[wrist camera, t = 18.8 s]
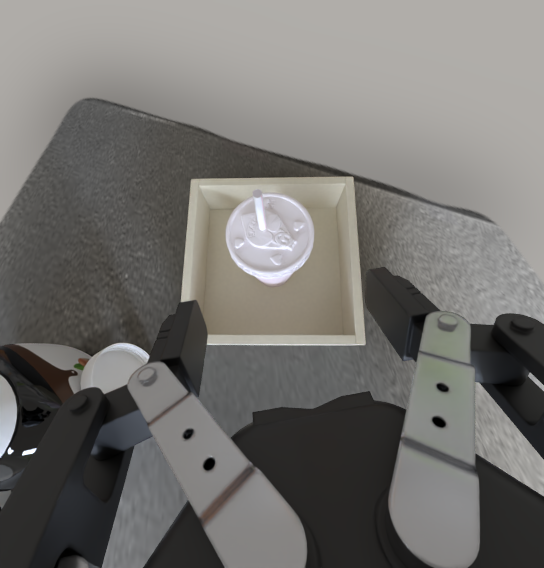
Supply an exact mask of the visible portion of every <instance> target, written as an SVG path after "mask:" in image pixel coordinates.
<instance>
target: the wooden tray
mask: <svg viewBox="0 0 544 568" xmlns="http://www.w3.org/2000/svg"><path fill="white" fill-rule="evenodd" d="M255 189H260V190H261V191H262V193H268V192H273V193H281V194H285V195H287V196H290V197H292V198H294V199H295V200H297V201H298V202H300V203H301V204H302V205H303V206H304V207H305V208H306V210H307V211H308V213H309V214H310V216H311V219H312V221H313V225H314V242H313V248H312V251H311V253H310V255H309V258H308V259H307V260H306V261H305V263H304V264H303V265H302V266H301V267H300V268H299V269H297V270H296V271H295V272H293V274H292V275H291V277H290V278H289V279H288V281H287V282H286V283H285V284H283V285H282V286H279V287H268V286H266V285H264V284H263V283H261V282H260V281H259V280H258V279H257V278H256V277H255V276H253V275H251V274H248V273H246V272H245V271H244V270H242V269H241V268H240V267H239V266H238V265H237V264H236V263H235V261H234V260H233V259H232V257H231V255H230V252H229V249H228V247H227V243H226V235H225V234H226V226H227V222H228V220H229V217H230V215H231V214H232V212H233V211H234V209H235V208H236V207H237V206H238V205H239V204H240V203H241V202H243V201H244V200H246V199H247V198H249V197H251V196H253V195H252V193H253V191H254V190H255ZM191 300H197V302H198V304H199V307H200V309H201V312H202V315H203V318H204V321H205V323H206V327H207V333H208V338H207V345H366V341H365V327H364V313H363V300H362V286H361V272H360V259H359V245H358V232H357V218H356V204H355V191H354V177H287V178H220V179H191V187H190V199H189V211H188V223H187V235H186V246H185V258H184V270H183V282H182V294H181V302H185V301H191Z"/></svg>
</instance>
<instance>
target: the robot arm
mask: <svg viewBox="0 0 544 568" xmlns="http://www.w3.org/2000/svg"><path fill="white" fill-rule="evenodd" d="M365 302H366V306H367V309H368V310H369V312H370V313H371V315H372V316H373V318H374V319H375V321H376V322H377V324H378V325H379V327H380V328H381V330H382V331H383V332H384V334H385V335H386V337H387V338H388V340H389V341H390V343H391V344H392V346H393V347H394V349H395V350H396V352H397V353H398V355H399V356H400V357H401V359H402V360H403V361H407V360H412V359H414V360H415V362H416V367H415V371H414V376H413V381H412V386H411V391H410V396H409V400H408V405H407V410H405V409H403V408H401V407H399V406H396V405H394V404H390V403H387V402H382V401H374V400H373V398H372V395H371V393H370V391H368V392H362V393H357V394H351V395H346V396H341V397H339V398H336V399H334V400H332V401H330V402H328V403H325V404H323V405H321V406H319V407H317V408H314V409H302V408H286V407H280V408H274V409H269V410H263V411H258V412H253V422H252V423H250V424H248V425H247V426H245V427H243V428H242V429H240V430H239V431H238V432H237V433H235V434H234V435H233V436H232V437H231V438H230V437H229V436H228V435H227V433H226V432H225V431H224V430H223V429H222V427H221V426H220V425H219V424H218V423H217V421H216V420H215V419H214V418H213V417H212V415H211V414H210V413H209V412H208V411H207V409H206V408H205V407H204V406H203V405H202V403H201V402H200V401H199V400H198V399H197V397H199V391H200V385H201V378H202V372H203V365H204V358H205V352H206V345H207V338H208V333H207V327H206V323H205V321H204V318H203V315H202V312H201V309H200V307H199V304H198V302H197V300H191V301H185V302H180V303H179V305H178V307H177V310H176V313H175V314H173V315H169V316H168V318H167V319H166V320H165V321H164V322H163V323H162V326H161V328H160V331H159V333H158V336H157V340H156V341H155V344H154V346H153V349H152V351H151V354H150V357H149V359H148V362H147V364H145V365H143V366H141V367H140V368H138V369H137V370H136V371H135V372H134V373H133V374H132V375H131V376H130V378H129V380H128V384H126V385H124V386H122V387H120V388H117V389H115V390H113V391H110V392H108V393H106V394H104V393H103V392H102V390H101V389H100V388H97V387H89V388H86V389H83V390H81V391H79V392H77V393H75V394H73V395H72V396H71V397H69V398H68V399H67V400H66V401H65V402H64V403H63V404H62V405H61V407H60V408H59V410H58V411H57V413H56V415H55V417H54V418H53V420H52V422H51V424H50V425H49V427H48V429H47V431H46V433H45V434H44V436H43V438H42V440H41V441H40V443H39V445H38V447H37V448H36V450H35V452H34V454H33V455H32V457H31V459H30V461H29V462H28V464H27V466H26V468H25V469H24V471H23V473H22V475H21V476H20V478H19V480H18V482H17V483H16V485H15V487H14V489H13V490H10V491H4V492H0V568H101V567H102V564H103V560H104V556H105V553H106V549H107V545H108V542H109V538H110V534H111V530H112V527H113V523H114V519H115V516H116V512H117V508H118V505H119V501H120V497H121V493H122V490H123V486H124V482H125V479H126V475H127V471H128V468H129V464H130V460H131V457H132V453H133V449H134V445H136V444H138V443H140V442H142V441H144V440H146V439H148V438H150V437H152V436H153V437H154V439H155V441H156V442H157V444H158V446H159V448H160V450H161V451H162V453H163V455H164V457H165V459H166V460H167V462H168V464H169V466H170V468H171V469H172V471H173V473H174V475H175V477H176V478H177V480H178V482H179V484H180V486H181V487H182V489H183V491H184V493H185V495H186V496H187V498H188V501H187V502H186V504H185V505H184V507H183V508H182V510H181V511H180V513H179V514H178V516H177V517H176V519H175V521H174V522H173V524H172V525H171V527H170V528H169V530H168V531H167V533H166V534H165V536H164V537H163V539H162V540H161V542H160V543H159V545H158V546H157V548H156V549H155V551H154V552H153V554H152V555H151V557H150V558H149V560H148V561H147V563H146V564H145V566H144V567H143V568H544V496H542V495H540V494H539V493H537V492H536V491H534V490H532V489H531V488H529V487H528V486H526V485H525V484H523V483H521V482H520V481H518V480H517V479H515V478H514V477H512V476H510V475H509V474H507V473H506V472H504V471H503V470H501V469H499V468H498V467H496V466H495V465H493V464H491V463H490V462H488V461H487V460H485V459H484V458H482V457H480V456H479V455H477V454H476V453H475V382H479V383H480V384H481V385H482V386H483V387H484V388H485V390H486V391H487V392H488V393H489V394H490V396H491V397H492V398H493V399H494V400H495V402H496V403H497V404H498V405H499V406H500V408H501V409H502V410H503V411H504V412H505V414H506V415H507V416H508V417H509V418H510V420H511V421H512V422H513V423H514V424H515V426H516V427H517V428H518V429H519V430H520V432H521V433H522V434H523V435H524V436H525V438H526V439H527V440H528V441H529V442H530V444H531V445H532V446H533V447H534V448H535V450H536V451H537V452H538V453H539V454H540V456H541V457H542V458H543V459H544V391H543V390H542V389H541V388H539V387H538V386H537V385H536V384H535V383H534V382H533V381H532V380H531V379H530V378H529V377H528V375H529V373H532V374H533V375H534V376H535V377H536V378H537V379H538V380H539V381H540V382H541V383H542V384H543V385H544V324H542V323H541V322H539V321H538V320H536V319H533V318H531V317H528V316H525V315H520V314H510V313H509V314H502V315H500V316H498V317H497V318H496V321H495V323H494V325H481V324H469V322H468V321H467V320H466V319H465V318H463V317H462V316H460V315H458V314H455V313H452V312H447V311H440V310H439V309H438V308H437V307H436V306H435V305H434V304H433V303H432V302H431V301H429V300H428V299H427V298H426V297H425V296H424V295H423V294H421V292H420V291H419V290H418V289H417V288H415V286H414V285H413V284H411V283H410V282H409V281H408V280H406V279H404V278H402V277H400V276H398V275H397V276H393V275H392V274H391V273H390V272H389V271H388V270H387V269H386V268H385V267H381V268H376V269H370V270H367V272H366V285H365Z"/></svg>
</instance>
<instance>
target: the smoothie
mask: <svg viewBox="0 0 544 568" xmlns="http://www.w3.org/2000/svg"><path fill="white" fill-rule="evenodd" d="M252 195H253V196H251V197H249V198H247V199H246V200H244V201H243V202H241V203H240V204H239V205H238V206H237V207H236V208H235V209H234V211H233V212H232V214H231V215H230V217H229V220H228V222H227V226H226V234H225V235H226V243H227V247H228V249H229V252H230V255H231V257H232V259H233V260H234V261H235V263H236V264H237V265H238V266H239V267H240V268H241V269H242V270H244V271H245V272H246V273H248V274H251V275H253V276H255V277H256V278H257V279H258V280H259V281H260V282H261V283H263V284H264V285H266V286H268V287H279V286H282V285H283V284H285V283H286V282H287V281H288V279H289V278H290V277H291V275H292V274H293V272H295V271H296V270H297V269H299V268H300V267H301V266H302V265H303V264H304V263H305V261H306V260H307V259H308V258H309V255H310V253H311V251H312V248H313V242H314V225H313V221H312V219H311V216H310V214H309V213H308V211H307V210H306V208H305V207H304V206H303V205H302V204H301V203H300V202H298V201H297V200H295V199H294V198H292V197H290V196H287V195H285V194H281V193H273V192H268V193H262V191H261V190H260V189H255V190H254V191H253V193H252Z"/></svg>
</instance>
